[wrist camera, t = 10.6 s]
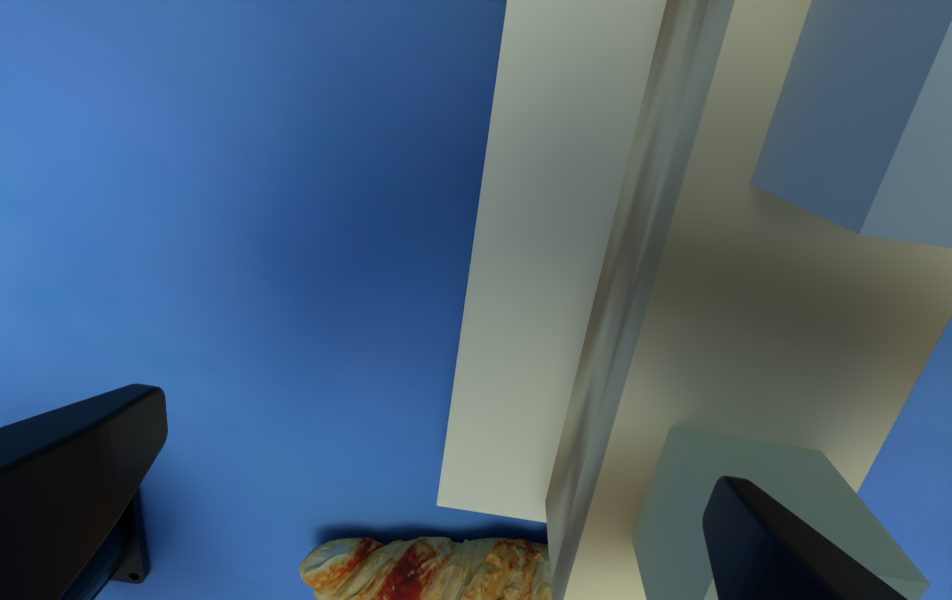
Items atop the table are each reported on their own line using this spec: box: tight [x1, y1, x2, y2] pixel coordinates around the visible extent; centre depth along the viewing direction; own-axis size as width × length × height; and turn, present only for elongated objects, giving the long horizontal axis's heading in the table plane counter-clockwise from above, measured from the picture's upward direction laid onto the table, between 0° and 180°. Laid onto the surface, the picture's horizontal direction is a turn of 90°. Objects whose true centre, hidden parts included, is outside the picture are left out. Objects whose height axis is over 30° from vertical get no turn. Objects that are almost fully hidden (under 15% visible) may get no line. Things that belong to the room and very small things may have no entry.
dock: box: [437, 0, 667, 523], centre depth 17 cm, size 24×15×3 cm, turn 172°
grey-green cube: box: [631, 427, 930, 600], centre depth 11 cm, size 4×4×4 cm
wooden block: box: [545, 0, 952, 600], centre depth 14 cm, size 20×6×5 cm, turn 172°
